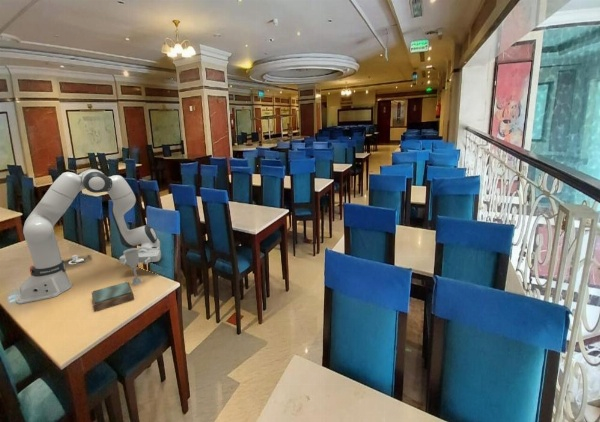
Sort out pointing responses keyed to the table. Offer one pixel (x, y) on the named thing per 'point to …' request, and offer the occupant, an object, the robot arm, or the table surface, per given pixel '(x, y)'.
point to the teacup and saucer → (75, 259)
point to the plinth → (112, 296)
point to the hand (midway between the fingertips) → (135, 263)
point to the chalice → (133, 263)
